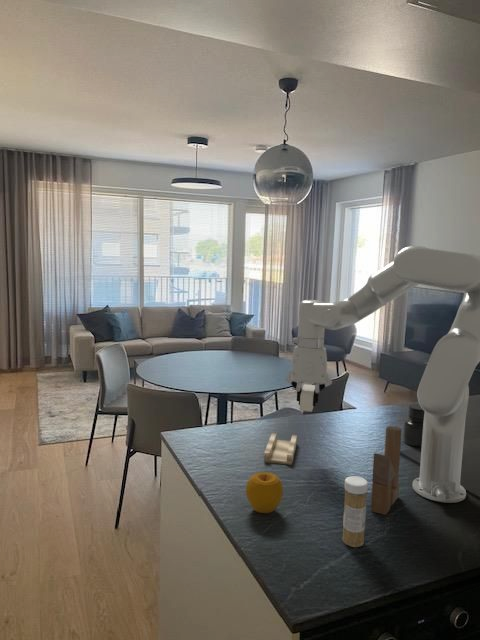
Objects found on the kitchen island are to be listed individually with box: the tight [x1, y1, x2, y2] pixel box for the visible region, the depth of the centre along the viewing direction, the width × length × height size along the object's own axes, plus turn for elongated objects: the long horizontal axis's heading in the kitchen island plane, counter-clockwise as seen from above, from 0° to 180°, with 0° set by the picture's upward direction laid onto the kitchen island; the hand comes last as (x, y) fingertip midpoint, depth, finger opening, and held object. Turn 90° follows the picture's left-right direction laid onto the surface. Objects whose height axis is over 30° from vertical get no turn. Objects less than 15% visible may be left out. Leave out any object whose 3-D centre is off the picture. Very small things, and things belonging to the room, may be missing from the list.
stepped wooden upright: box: [370, 425, 402, 516], centre depth 115 cm, size 4×11×18 cm, turn 147°
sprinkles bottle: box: [341, 475, 369, 548], centre depth 99 cm, size 5×5×13 cm
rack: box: [263, 432, 298, 466], centre depth 146 cm, size 16×8×3 cm, turn 168°
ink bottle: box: [402, 403, 425, 448], centre depth 155 cm, size 10×9×12 cm
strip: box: [299, 383, 315, 413], centre depth 142 cm, size 12×4×4 cm, turn 168°
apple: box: [245, 471, 284, 514], centre depth 111 cm, size 8×8×9 cm
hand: (307, 403), depth 142 cm, fingers closed on strip, 3 cm apart
